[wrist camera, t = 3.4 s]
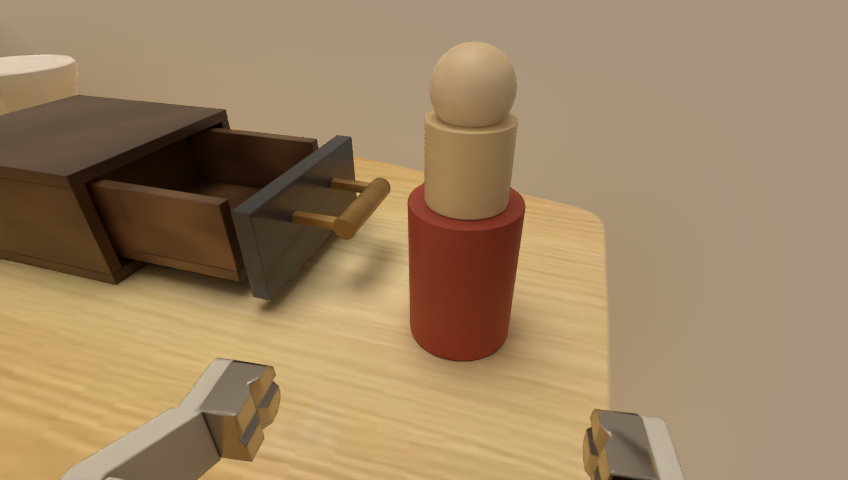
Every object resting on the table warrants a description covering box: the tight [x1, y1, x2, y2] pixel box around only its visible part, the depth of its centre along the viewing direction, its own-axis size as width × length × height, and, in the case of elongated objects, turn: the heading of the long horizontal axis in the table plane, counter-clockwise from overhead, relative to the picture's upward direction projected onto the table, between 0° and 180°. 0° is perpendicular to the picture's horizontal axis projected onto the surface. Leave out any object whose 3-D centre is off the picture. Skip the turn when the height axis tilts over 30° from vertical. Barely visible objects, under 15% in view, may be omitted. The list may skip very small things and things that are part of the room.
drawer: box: [84, 127, 390, 300], centre depth 30 cm, size 19×12×6 cm, turn 73°
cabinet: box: [0, 95, 230, 284], centre depth 34 cm, size 16×14×8 cm
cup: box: [0, 55, 79, 115], centre depth 45 cm, size 10×10×9 cm
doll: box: [408, 41, 525, 361], centre depth 21 cm, size 6×6×15 cm
